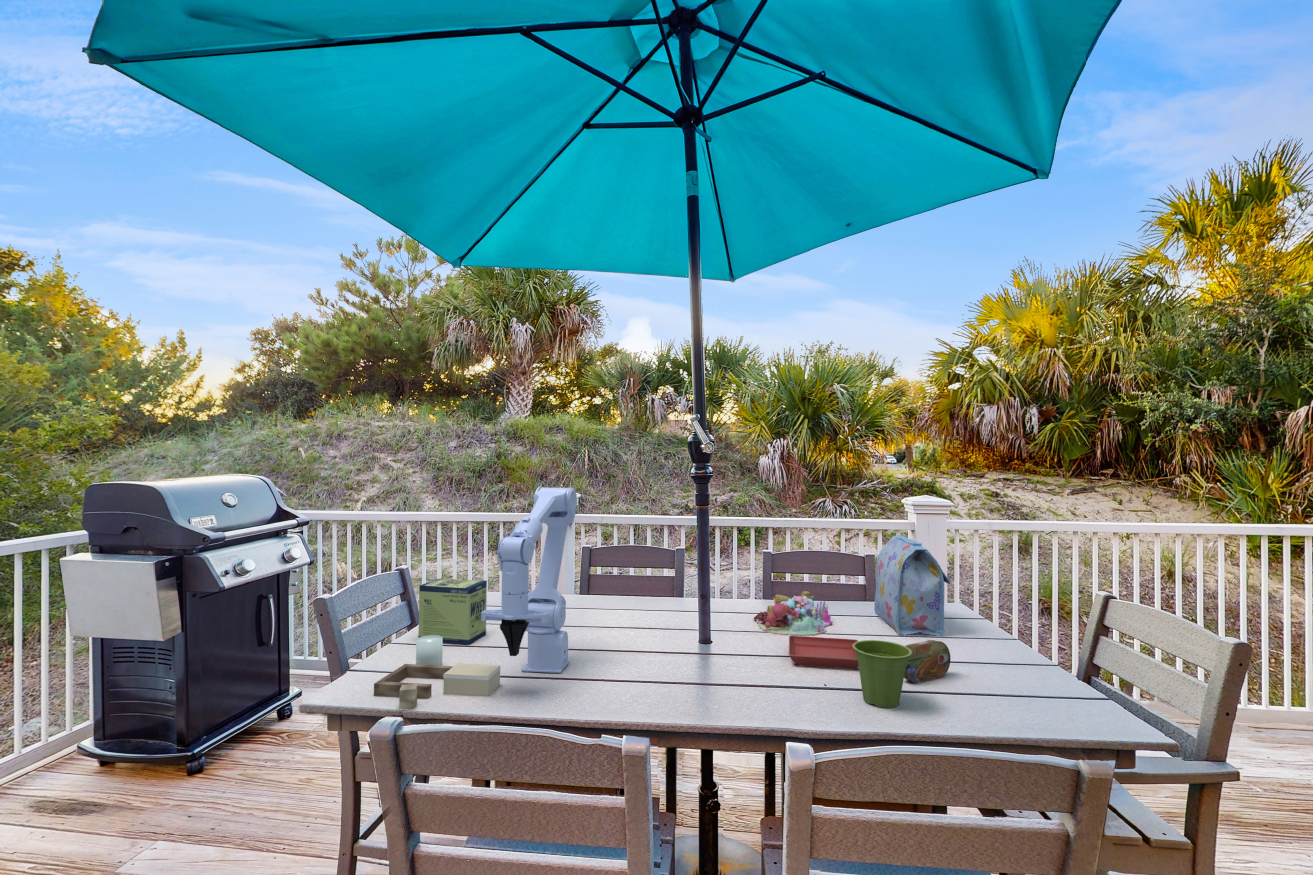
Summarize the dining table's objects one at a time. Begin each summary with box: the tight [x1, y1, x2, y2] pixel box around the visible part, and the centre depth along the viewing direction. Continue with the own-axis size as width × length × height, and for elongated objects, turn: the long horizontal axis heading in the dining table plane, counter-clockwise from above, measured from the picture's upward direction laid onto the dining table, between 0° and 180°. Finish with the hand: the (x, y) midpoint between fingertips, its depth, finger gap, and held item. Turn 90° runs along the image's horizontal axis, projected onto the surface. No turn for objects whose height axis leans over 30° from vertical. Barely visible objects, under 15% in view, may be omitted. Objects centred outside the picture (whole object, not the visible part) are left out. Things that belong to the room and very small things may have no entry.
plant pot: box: [852, 639, 912, 709], centre depth 135 cm, size 12×12×11 cm
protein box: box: [417, 577, 488, 646], centre depth 179 cm, size 10×16×16 cm
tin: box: [904, 639, 951, 684], centre depth 149 cm, size 15×3×8 cm, turn 117°
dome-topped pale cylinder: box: [415, 635, 444, 666], centre depth 155 cm, size 6×6×7 cm
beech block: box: [398, 684, 418, 710], centre depth 131 cm, size 3×3×4 cm
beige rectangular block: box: [442, 663, 501, 697], centre depth 141 cm, size 10×7×4 cm
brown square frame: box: [373, 663, 455, 700], centre depth 143 cm, size 12×13×2 cm
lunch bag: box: [873, 534, 951, 637], centre depth 194 cm, size 22×17×26 cm
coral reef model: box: [753, 590, 833, 637], centre depth 196 cm, size 25×24×9 cm
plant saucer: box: [788, 635, 859, 670], centre depth 164 cm, size 18×18×3 cm
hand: (514, 654), depth 140 cm, fingers closed
